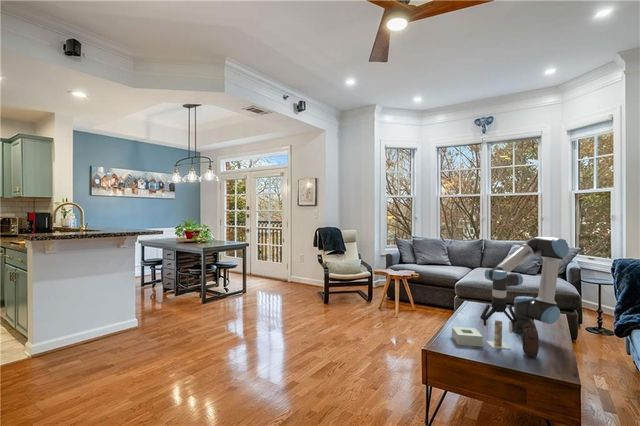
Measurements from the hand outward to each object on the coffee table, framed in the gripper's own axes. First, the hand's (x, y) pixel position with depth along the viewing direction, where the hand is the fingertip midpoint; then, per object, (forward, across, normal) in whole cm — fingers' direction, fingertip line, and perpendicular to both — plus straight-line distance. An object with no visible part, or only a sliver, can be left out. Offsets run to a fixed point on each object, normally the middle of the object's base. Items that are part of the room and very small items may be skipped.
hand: (498, 332), depth 200 cm
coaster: (+8, 0, 0) cm, 8 cm away
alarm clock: (+8, -12, +13) cm, 19 cm away
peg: (+8, 0, 0) cm, 8 cm away
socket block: (+8, +17, -3) cm, 19 cm away
